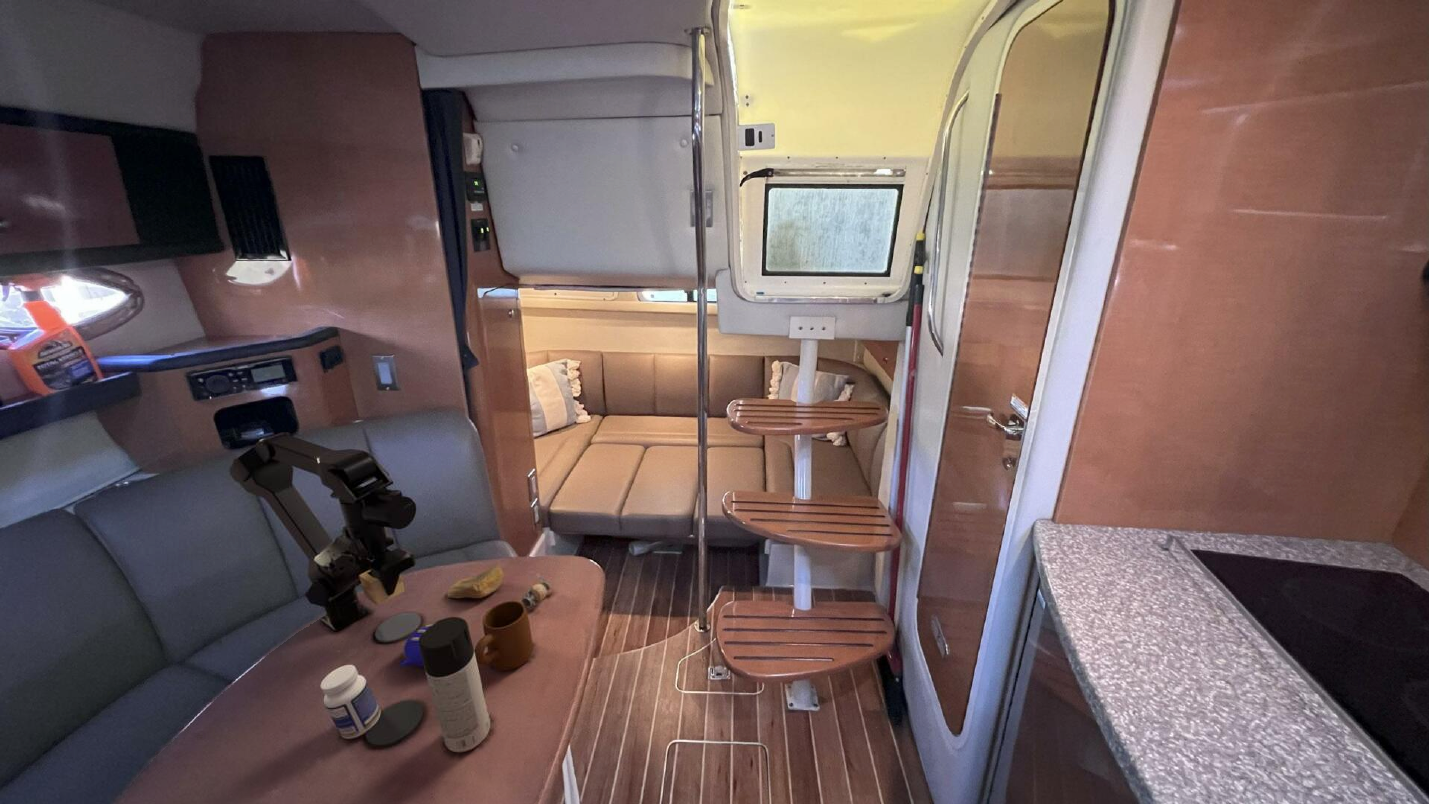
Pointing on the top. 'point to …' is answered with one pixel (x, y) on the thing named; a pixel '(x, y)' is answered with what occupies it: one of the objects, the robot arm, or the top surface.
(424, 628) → the decorative object
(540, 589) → the vase
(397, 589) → the block
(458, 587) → the stone
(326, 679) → the pill bottle
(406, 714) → the coaster
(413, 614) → the coaster
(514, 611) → the mug
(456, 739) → the spray can
